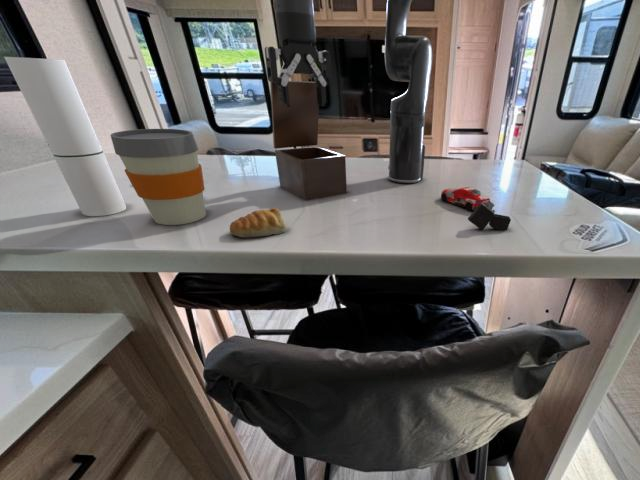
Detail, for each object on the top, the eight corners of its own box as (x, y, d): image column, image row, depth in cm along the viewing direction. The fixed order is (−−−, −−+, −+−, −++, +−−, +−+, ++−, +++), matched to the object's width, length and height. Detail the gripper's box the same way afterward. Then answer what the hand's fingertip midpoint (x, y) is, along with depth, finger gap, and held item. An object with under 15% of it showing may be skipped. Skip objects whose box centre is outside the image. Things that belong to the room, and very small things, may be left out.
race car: (436, 199, 84) (437, 183, 82) (451, 196, 87) (453, 180, 84) (476, 214, 75) (480, 196, 73) (491, 210, 78) (495, 193, 76)
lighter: (493, 237, 71) (511, 217, 69) (497, 241, 69) (515, 221, 67) (466, 217, 68) (483, 196, 66) (469, 221, 66) (487, 199, 64)
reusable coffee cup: (149, 209, 69) (118, 128, 61) (216, 204, 74) (196, 128, 65) (137, 232, 60) (98, 140, 51) (215, 224, 64) (191, 138, 56)
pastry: (237, 243, 58) (232, 222, 55) (226, 231, 62) (221, 211, 60) (289, 232, 63) (286, 212, 61) (275, 221, 67) (272, 202, 65)
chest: (347, 192, 85) (345, 155, 80) (305, 200, 78) (300, 160, 74) (319, 180, 93) (316, 146, 88) (280, 186, 87) (274, 150, 82)
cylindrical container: (122, 202, 72) (61, 59, 58) (130, 211, 68) (67, 60, 54) (79, 208, 68) (3, 56, 54) (85, 218, 64) (4, 56, 50)
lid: (319, 82, 78) (309, 75, 80) (271, 81, 71) (261, 73, 74) (317, 145, 88) (307, 136, 90) (275, 148, 81) (265, 139, 84)
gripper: (267, 5, 60) (281, 108, 70) (335, 15, 68) (340, 106, 77) (251, 9, 65) (267, 105, 74) (317, 17, 73) (324, 103, 82)
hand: (304, 106), depth 76 cm, fingers open, 8 cm apart
